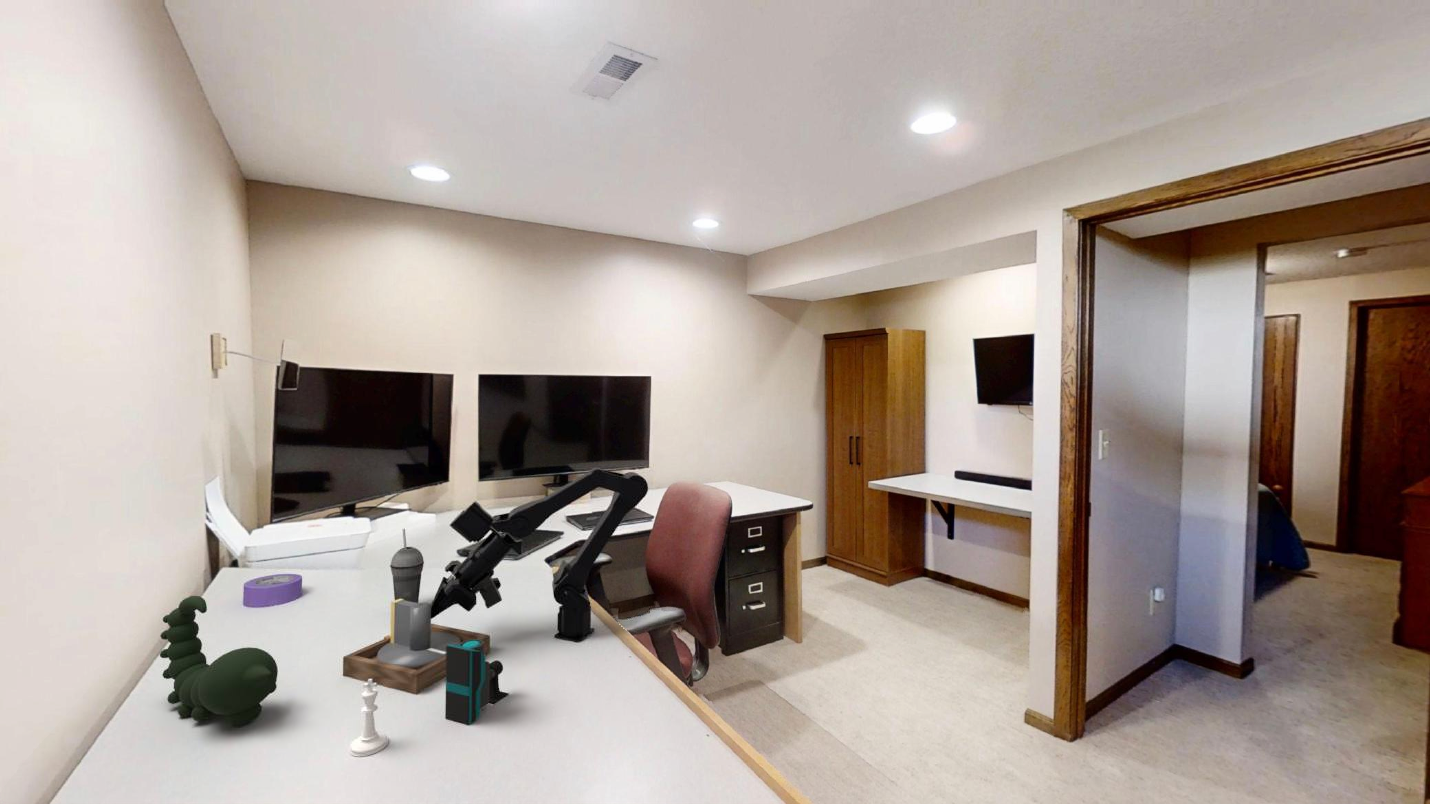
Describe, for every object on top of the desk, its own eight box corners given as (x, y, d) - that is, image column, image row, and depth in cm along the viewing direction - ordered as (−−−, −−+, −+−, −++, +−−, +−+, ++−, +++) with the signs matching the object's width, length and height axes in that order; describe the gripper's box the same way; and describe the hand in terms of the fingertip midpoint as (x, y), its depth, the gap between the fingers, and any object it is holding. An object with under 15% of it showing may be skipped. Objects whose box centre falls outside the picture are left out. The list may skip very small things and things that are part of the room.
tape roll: (292, 589, 152) (292, 570, 152) (309, 598, 145) (309, 579, 145) (236, 601, 142) (236, 581, 142) (251, 612, 136) (252, 591, 136)
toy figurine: (141, 723, 92) (236, 747, 83) (137, 603, 93) (231, 613, 83) (212, 695, 101) (305, 714, 91) (208, 585, 102) (300, 593, 92)
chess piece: (360, 737, 87) (361, 672, 87) (394, 736, 87) (395, 671, 87) (342, 757, 82) (343, 688, 82) (377, 756, 82) (379, 687, 82)
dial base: (490, 651, 116) (490, 632, 116) (416, 694, 99) (416, 672, 99) (422, 637, 123) (423, 619, 123) (341, 675, 105) (342, 654, 105)
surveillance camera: (514, 627, 99) (471, 651, 90) (513, 695, 99) (470, 726, 90) (488, 622, 101) (444, 645, 92) (487, 689, 101) (443, 718, 92)
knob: (476, 647, 115) (477, 599, 115) (414, 678, 101) (415, 625, 101) (425, 634, 120) (425, 589, 120) (359, 662, 107) (360, 612, 107)
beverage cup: (408, 618, 133) (410, 533, 133) (381, 615, 134) (383, 531, 134) (430, 607, 140) (431, 526, 140) (404, 605, 141) (405, 525, 141)
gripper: (520, 593, 113) (459, 659, 109) (511, 568, 130) (458, 624, 126) (477, 559, 110) (413, 625, 105) (473, 537, 127) (418, 594, 122)
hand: (428, 617), depth 115 cm, fingers closed
